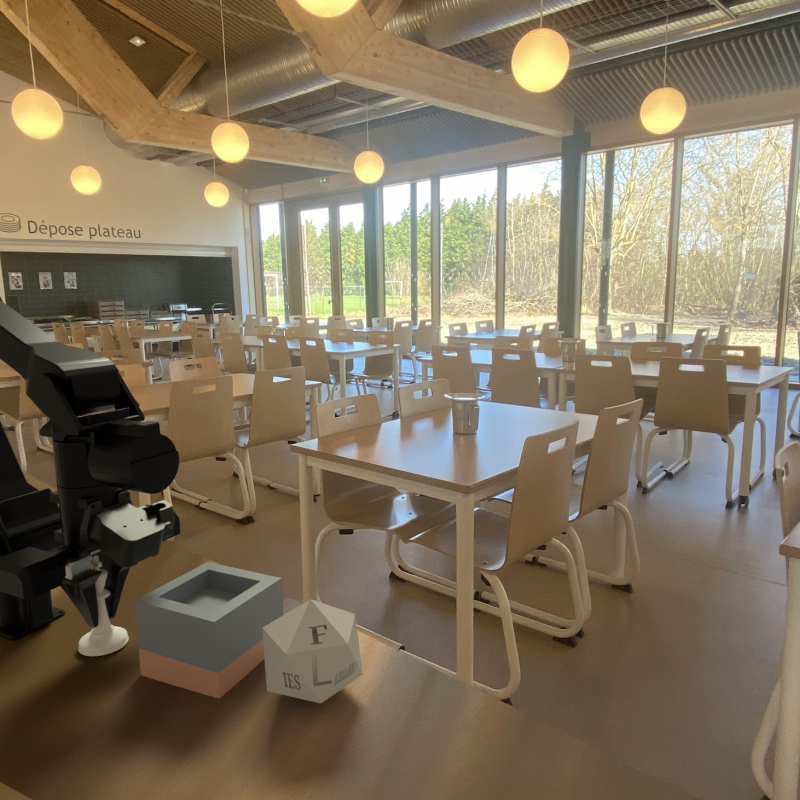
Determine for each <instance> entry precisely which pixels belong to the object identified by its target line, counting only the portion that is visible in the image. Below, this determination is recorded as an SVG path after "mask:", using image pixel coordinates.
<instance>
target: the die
mask: <svg viewBox="0 0 800 800" xmlns="http://www.w3.org/2000/svg"><path fill="white" fill-rule="evenodd" d="M357 627H358V626H357V617H356V613H352V612H351V611H347V610H343V609H341V608H338V607H334V606H332V605H329V604H326V603H323V602H320V601H317V600H314V599H309V600H307V601H305V602H303V603H302V604H300V605H298V606H297V607H295V608H293V609H292V610H290V611H288V612H287V613H285V614H283V616H281V617H280V618H278V619H276V620H275V621H273V622H271V623H270V624H268V625H266V626H265V627H263V628H262V631H263V644H264V658H265V659H264V667H265V668H264V671H265V682H266V683H265V684H266V692H270V693H274V694H277V695H278V694H279V695H282V696H283V695H284V696H286V697H291V698H295V699H298V700H299V699H300V700H304V701H309V702H312V703H316V704H323V703H324V702H325V701H327V700H328V699H329V698H331V697H333V696H334V695H335V694H337V693H338V692H340V691H341V690H343V689H345V687H347V686H348V685H350V684H352V683H353V682H355V680H357V679H358V678H361V676H363V675H364V674H363V667H362V658H361V649H360V643H359V635H358V628H357Z"/></svg>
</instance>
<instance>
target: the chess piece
mask: <svg viewBox="0 0 800 800" xmlns="http://www.w3.org/2000/svg"><path fill="white" fill-rule="evenodd" d="M92 558H93V559H92ZM91 566H93V568H92V569H95V570H98V571H102V573H101V575H100V576H99V578H98V579H97V581H96V583H95V586H96V596H97V605H98V626H97V627H95V628H93V627H92V629H91V630H90V631H89V632H87V633H86V634H84V635H82V637H81V638H80V639H79V641H78V646H77V649H78V650H77V651H78V652H79V654H81V655H83V656H87V657H99V656H105V655H109V654H112V653H114V652H116V651H119V650H121V649H122V648H124V646H126V645H127V644H128V642H129V640H130V637H129V635H128V631H127V630H126V628H123V627H121V626H116V625H115V626H114V625H113V624H111V621H110V618H109V617H108V613H107V608H106V603H105V598H107V597H108V596H109V595H110V592H109V590H107V589H104V586H105V581H106V578H107V574H108V572H107V571H106V570H104V569H100V568H99V567H102V562H100V561H99V557H98V555H97V554H96V555H93V556H91Z"/></svg>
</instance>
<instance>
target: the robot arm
mask: <svg viewBox="0 0 800 800" xmlns="http://www.w3.org/2000/svg"><path fill="white" fill-rule="evenodd" d="M0 360H1V361H2V362H4V363H5V364H6V365H8V367H10V368H11V369H12V370H14V371H15V372H16V373H18V375H20V376H21V378H23V379H24V382H25V395H26V396H27V397H28V398H29V399H30V401H32V403H33V404H34V406H36V407H37V408H38V409H39V410H40V411H41V413H42V414H44V415H45V417H47V418H48V419H49V420H48V421H46V423H44V425H42V426H41V428H40V429H39V430H38V431H39V432H38V433H39V436H41V437H45V438H51V442H52V452H53V453H52V454H53V460H54V472H55V480H56V481H55V482H56V489H57V490H55V491H54V490H53V491H52V490H51V489H50V488H48V487H45V488H43V489H38V488H37V487H35V486H33V485H32V484H30V483H29V482H28V480H27V478H26V476H25V474H24V472H23V470H22V467H21V465H20V464H21V463H19V460H18V458H17V456H16V453H15V451H14V448H13V446H12V444H11V442H10V440H9V437H8V434H7V433H6V430H5V428H4V425H3V423H2V421H1V420H0V636H1V637H4V638H7V639H9V640H12V641H13V640H16V639H19V638H22V637H23V636H27V635H28V634H30V633H32V632H34V631H36V630H38V629H41V628H42V627H45V626H47V625H48V624H51V623H52V622H54V621H56V620H58V619H60V618H62V617H63V616H65V615H66V611H65V610H64V609H61V608H58V607H55V606H53V598H52V597H53V596H52V590H54V589H57V588H59V587H60V588H61V589H62V590H63V591H64V593H65V594H66V595H67V597H68V598H69V600H70V601H71V602H72V603H73V605H74V607H75V608H76V610H77V611H78V612H79V614H80V616H81V617H82V618H83V620H84V621H85V623H86V624H87V626H88V627H91V628H92V629H93V628H95V627H97V626H98V605H97V596H96V586H95V583H96V581H97V579H98V578H99V576H100V575H101V573H102V571H98V570H95V569H93V568H92V566H93V565H92V564H91V559H93V558H92V556H93V555H96V554H97V555H98V557H99V561H100V562H102V567H99V568H100V569H104V570H106V571H107V572H108V574H107V578H106V581H105V586H104V589H107V590H109V592H110V595H109V596H108V597H107V598H105V603H106V608H107V613H108V617H109V620H110V619H111V620H112V619H115V617H116V615H117V611H118V608H119V604H120V601H121V597H122V593H123V590H124V587H125V583H126V580H127V577H128V576H129V572H130V570H131V568H132V567H134V566H136V565H138V563H140V562H141V561H144V560H146V559H148V558H151V557H152V558H154V557H156V556H158V555H159V554H160V553H161V547H162V542H164V541H167V540H168V539H171V538H173V537H176V536H178V535H181V534H182V529H181V518H180V516H179V515H178V514H177V512H176V511H175V510H174V507H173V504H171V503H170V502H168V501H167V500H165V499H162V500H160V501H156V502H154V503H151V504H144V505H141V506H139V507H136V506H135V505H134V504H133V503H132V500H131V492H138V493H143V494H149V495H156V494H160V493H162V492H163V491H164V490H166V489H167V488H168V487H170V485H171V484H172V483H173V482H174V480H175V478H176V476H177V473H178V471H179V466H180V454H179V451H178V450H177V448H176V446H175V444H174V442H173V441H172V439H170V438H169V437H168V436H167V435H164V434H162V433H161V427H160V426H161V425H160V422H159V421H156V420H155V421H154V420H147V421H145V420H146V418H145V414H144V412H143V411H142V409H141V408H140V405H141V404H140V403H139V402H138V400H137V399H136V398H135V397H134V396H133V394H132V393H131V390H130V389H129V387H128V385H127V383H126V382H125V380H124V378H123V377H122V375H121V373H120V372H119V371H120V370H119V368H118V367H117V365H116V364H115V363H114V362H113V360H111V359H109V358H108V357H106V356H103V355H102V354H99V353H96V352H94V351H92V350H90V349H87V348H82V347H78V346H77V347H76V346H72V345H68V344H64V343H62V342H60V341H58V340H56V339H55V338H54V337H52V336H51V335H50V334H48V333H47V332H46V331H44V330H42V329H41V328H40V327H39V326H37V325H36V324H34V323H33V322H31V321H30V320H29V319H27V317H25V316H23V315H22V314H21V313H19V312H18V311H16V310H14V309H13V308H12V307H11V306H9V305H8V304H7V303H5V302H4V301H3V299H2V297H1V296H0ZM129 491H131V492H129Z"/></svg>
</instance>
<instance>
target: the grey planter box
mask: <svg viewBox="0 0 800 800" xmlns="http://www.w3.org/2000/svg"><path fill="white" fill-rule="evenodd" d="M282 581H283V579H282V577H278V576H273V575H269V574H265V573H260V572H256V571H251V570H246V569H242V568H237V567H232V566H228V565H224V564H219V563H215V562H211V561H206V562H205V563H203V564H201V565H199V566H197V567H195V568H194V569H190V571H188V572H186V573H184V574H182V575H180V576H179V577H176V578H174V579H172V580H171V581H169V582H167V583H165V584H163V585H160V586H159V587H157V588H156V589H154V590H151V591H150V592H148V593H146V594H144V595H142V596H140V597H138V598H137V599H135V600H134V608H135V609H134V610H135V619H136V631H137V643H138V644H137V645H138V654H139V655H138V656H139V667H140V668H139V669H140V676H142V677H146V678H149V679H151V680H155V681H157V682H158V681H159V682H162V683H166V684H169V685H172V686H174V687H179V688H180V689H181V688H183V689H185V690H189V691H192V692H194V693H199V694H202V695H205V696H209V697H212V698H215V699H219V700H220V699H221V698H222V697H223V696H225V695H226V693H228V692H229V691H230V690H231V689H232V688H234V687H235V686H236V685H237V684H238V683H240V681H241V680H242V679H244V678H245V677H246V676H247V675H248V674H249V673H250V672H251V671H253V670H254V669H255V668H256V667H257V666H258V665H259V664H261V662H263V661H265V658H264V644H263V631H262V628H263V627H265V626H266V625H268V624H270V623H271V622H273V621H275V620H276V619H278V618H280V617H281V616H283V615H284V601H283V600H284V599H283V584H282V583H283V582H282Z"/></svg>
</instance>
